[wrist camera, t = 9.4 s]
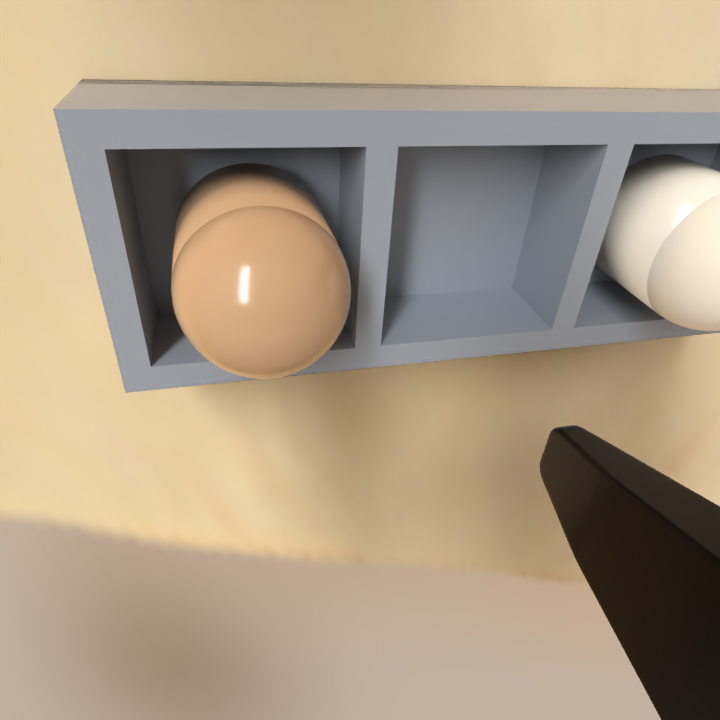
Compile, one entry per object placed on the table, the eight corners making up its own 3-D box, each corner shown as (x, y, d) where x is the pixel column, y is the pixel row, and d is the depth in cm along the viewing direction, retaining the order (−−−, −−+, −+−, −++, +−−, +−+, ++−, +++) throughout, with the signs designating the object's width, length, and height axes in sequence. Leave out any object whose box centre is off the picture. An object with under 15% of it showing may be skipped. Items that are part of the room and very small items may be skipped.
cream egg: (699, 144, 18) (883, 212, 13) (654, 259, 21) (796, 352, 16) (590, 145, 17) (745, 218, 13) (556, 265, 20) (674, 365, 15)
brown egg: (319, 151, 16) (377, 239, 11) (317, 283, 18) (364, 404, 13) (165, 153, 15) (151, 250, 10) (185, 291, 17) (182, 425, 12)
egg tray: (746, 90, 18) (843, 113, 16) (663, 286, 23) (728, 331, 20) (82, 79, 14) (53, 109, 11) (136, 327, 18) (125, 392, 15)
